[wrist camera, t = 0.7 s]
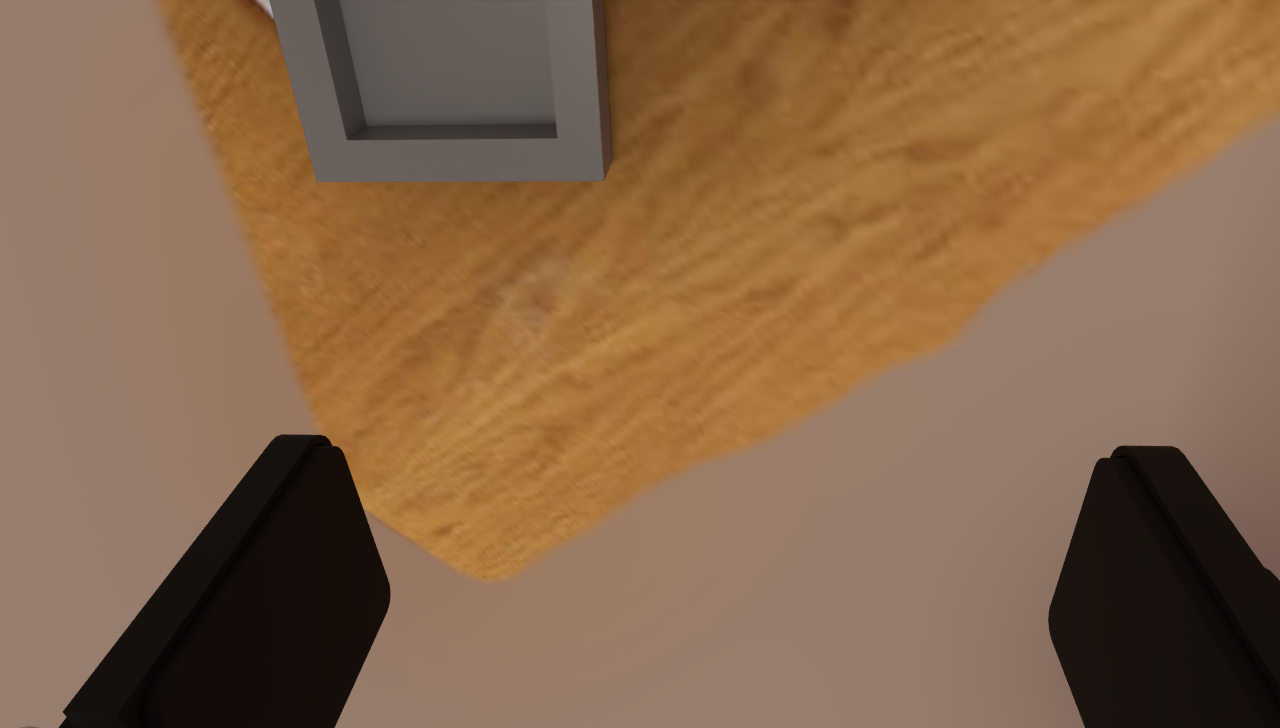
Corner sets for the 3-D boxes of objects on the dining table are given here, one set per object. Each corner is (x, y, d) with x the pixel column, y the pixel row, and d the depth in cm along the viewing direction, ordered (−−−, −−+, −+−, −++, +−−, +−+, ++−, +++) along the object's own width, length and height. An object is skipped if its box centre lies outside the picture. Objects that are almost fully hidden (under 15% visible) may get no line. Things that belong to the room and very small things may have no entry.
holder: (264, -164, 34) (225, -166, 31) (592, -181, 32) (580, -185, 30) (342, 162, 41) (316, 181, 39) (612, 160, 40) (603, 181, 37)
